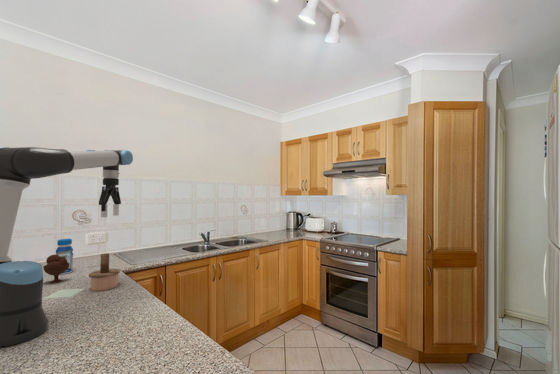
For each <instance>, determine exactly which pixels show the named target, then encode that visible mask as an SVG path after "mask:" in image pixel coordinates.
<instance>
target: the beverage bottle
mask: <svg viewBox="0 0 560 374" xmlns="http://www.w3.org/2000/svg"><path fill="white" fill-rule="evenodd" d="M72 241H73V239H72V238H61V239H58V240H57V246H58V247H57V248H56V249H55V255H59V256H61V257H64V258H66V259H67V262H69V263H70V264H69V267H68V269H67V270H66V271H65V272H63V273H61V274H60V275H66V274H70V273H72V272H73V270H74V269H73V267H74V264H73V263H74V261H73V260H74V252H73V251H74V248H73V247H72V243H73V242H72Z"/></svg>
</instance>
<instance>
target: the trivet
mask: <svg viewBox="0 0 560 374" xmlns="http://www.w3.org/2000/svg"><path fill="white" fill-rule="evenodd" d="M85 289H86V288H69V289H68V288H67V289H59V290H57V291H55V292H53V293H51V294H49V295H48V296H46V297H44V298H43V299H45V300H46V299H58V298H59V299H60V298H72V297H74V296H75V295H77V294H79V293H80V292H82V291H83V290H85Z"/></svg>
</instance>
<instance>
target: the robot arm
mask: <svg viewBox="0 0 560 374" xmlns="http://www.w3.org/2000/svg"><path fill="white" fill-rule="evenodd" d="M133 161H134V158H133V153H132V151H130V150H126V149H125V150H124V149H122V150H121V149H119V150H114V149H113V150H112V149H104V150H95V149H87V150H83V151H82V150H81V151H80V150H79V151H69V150H67V149H64V148H61V149H60V148H58V149H56V148H45V147H38V146H37V147H35V146H28V147H27V146H25V147H10V146H8V147H0V348H3V347H2V346H6V347H9V345H11V346H15V345H17V344H21V343H24V342H26V341H30V340H32V339H34V338H37V337H38V336H40V335H42V334H44V333H45V332H46V331H48V328H49V319H48V317H47V315H46V313H45V310H44V308H43V303H42V302H43V287H44V286H43V284H44V283H43V282H44V272H43V271H44V269H43V266H42V263H40V262H39V261H38V262H37V261H33V260H21V261H20V260H13V259H12V258H11V257H10V256H8V254H9V249H10V246H11V241H12V236H13V233H14V229H15V225H16V219H17V216H18V211H19V206H20V204H21V203H20V202H21V199H22V195H23V190H25V189H27V188H29V187H30V185H31V180H33V179H35V180H36V179H41V178H42V179H43V178H47V177H48V178H49V177H52V176H57V175H63V174H69V173H71V172H73V171H76V170H86V169H93V168H95V169H96V168H102V177H103V178H102V185H103V186H102V187H101V193H100V196H99V200H98V205H99V206H100V218H108V201H109V200H110V197H111V199H112V201H113V202H112V203H113V205H112V212H113V213H112V216H114V217H115V216H118V217H119V215H120V213H119V212H120V205H122V199H121V196H120V191H119V187H118V186H119V185H120V182H119V181H120V180H119V176H120V175H119V174H121V173H120V169H119V167H120V166H128V165H131V164H132V163H133ZM14 344H15V345H14Z"/></svg>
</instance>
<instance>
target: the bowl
mask: <svg viewBox="0 0 560 374" xmlns="http://www.w3.org/2000/svg"><path fill="white" fill-rule="evenodd" d="M118 285H119V273H118V274H116V275H113V276H109V277H103V278H90V291H92V292H102V291H107V290H111V289H114V288H117V287H118Z"/></svg>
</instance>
